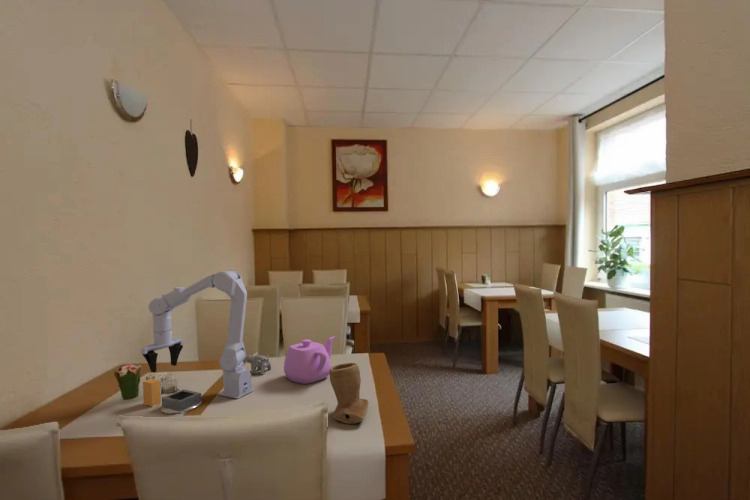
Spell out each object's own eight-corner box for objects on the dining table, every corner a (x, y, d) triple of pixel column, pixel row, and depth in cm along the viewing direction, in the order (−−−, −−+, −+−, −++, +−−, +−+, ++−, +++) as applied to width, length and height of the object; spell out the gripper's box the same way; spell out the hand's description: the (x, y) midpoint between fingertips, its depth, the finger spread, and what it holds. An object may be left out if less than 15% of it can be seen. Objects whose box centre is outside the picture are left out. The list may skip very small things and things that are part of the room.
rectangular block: (152, 401, 128) (151, 378, 128) (160, 403, 126) (159, 380, 126) (143, 405, 125) (142, 381, 125) (152, 407, 123) (151, 383, 123)
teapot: (307, 392, 132) (306, 350, 131) (277, 378, 147) (276, 340, 147) (355, 375, 147) (354, 337, 147) (324, 364, 163) (323, 330, 162)
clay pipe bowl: (335, 403, 122) (334, 357, 122) (371, 404, 120) (369, 358, 120) (323, 425, 107) (321, 373, 107) (363, 426, 105) (362, 374, 105)
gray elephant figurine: (268, 376, 151) (268, 357, 151) (237, 376, 150) (238, 357, 150) (272, 368, 160) (272, 351, 160) (243, 369, 159) (244, 351, 159)
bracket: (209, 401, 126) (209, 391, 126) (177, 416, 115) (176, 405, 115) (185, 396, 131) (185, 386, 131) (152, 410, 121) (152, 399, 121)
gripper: (174, 325, 141) (175, 361, 141) (135, 334, 128) (136, 373, 128) (186, 327, 138) (187, 363, 138) (147, 336, 125) (149, 376, 125)
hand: (163, 368), depth 133 cm, fingers open, 7 cm apart
